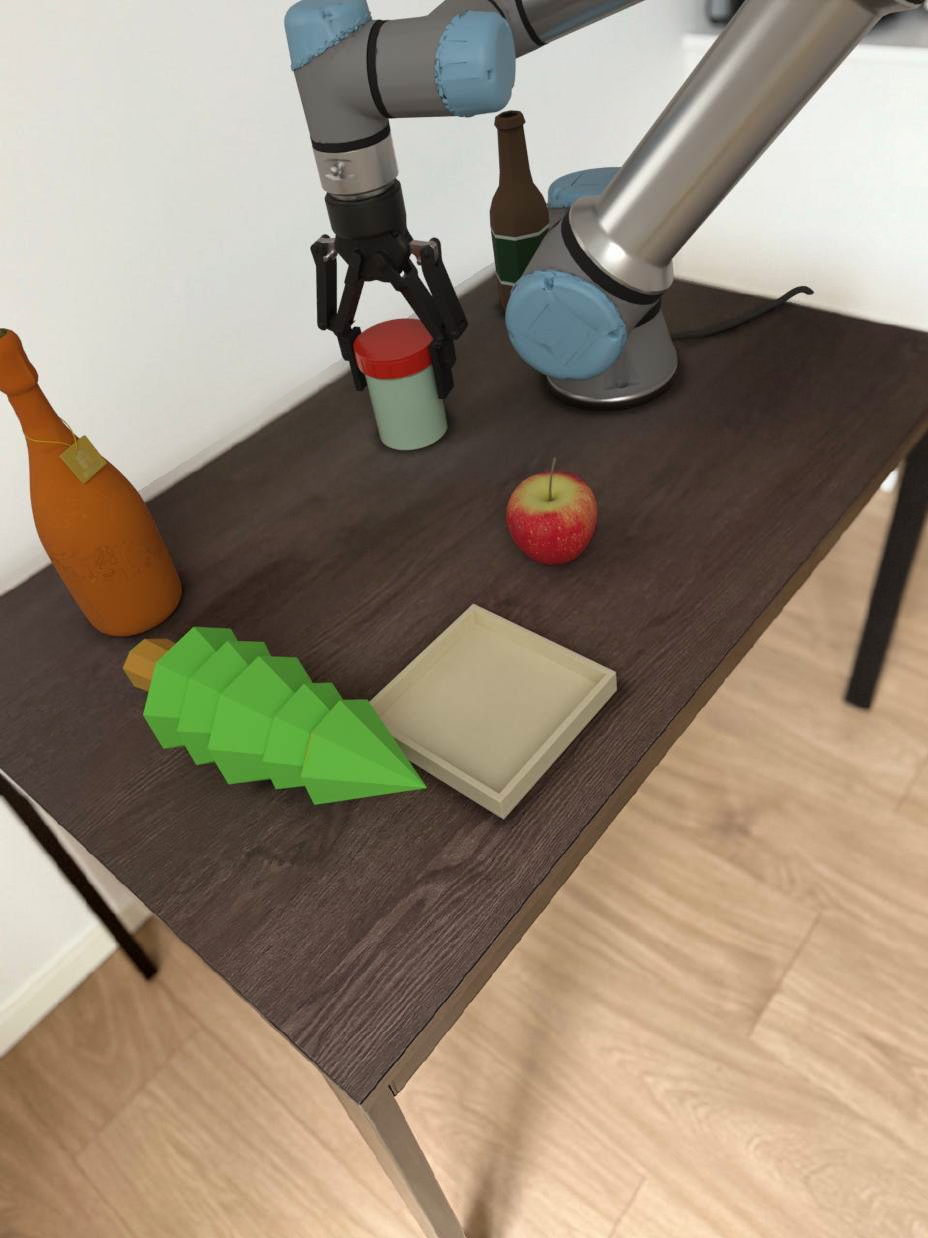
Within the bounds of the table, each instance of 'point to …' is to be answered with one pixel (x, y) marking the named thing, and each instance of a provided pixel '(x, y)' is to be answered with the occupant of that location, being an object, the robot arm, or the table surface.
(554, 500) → the apple
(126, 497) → the wine bottle
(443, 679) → the tray
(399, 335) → the lid
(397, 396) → the jar
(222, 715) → the decorative tree
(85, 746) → the table surface
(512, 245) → the beer bottle
